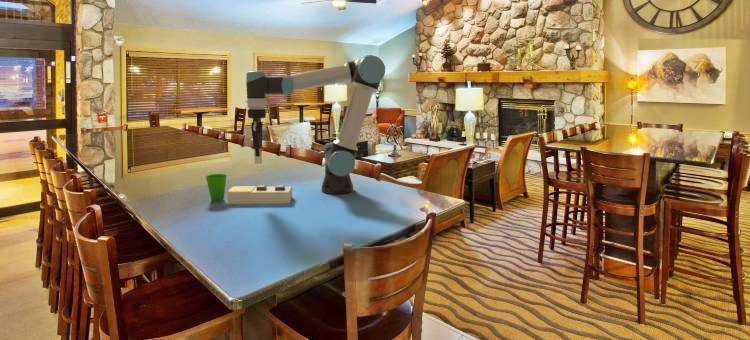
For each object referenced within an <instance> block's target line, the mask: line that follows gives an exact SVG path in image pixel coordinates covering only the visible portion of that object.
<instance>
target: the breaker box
mask: <svg viewBox="0 0 750 340" xmlns="http://www.w3.org/2000/svg"><path fill="white" fill-rule="evenodd" d="M257 187H258V186H255V185H252V186H251V185H245V186H244V185H243V186H242V185H240V186H239V185H235V186H232V187H230V188H229V189H228V190H227V193H226V196H227V197H226V198H227V205H256V204H257V205H259V204H260V205H264V204H265V205H266V204H267V205H268V204H269V205H275V204H277V205H283V204H290V202H291V200H292V199H293V186H285V190H283V191H275V187H276V186H266V188H267V190H266V191H257Z"/></svg>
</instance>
